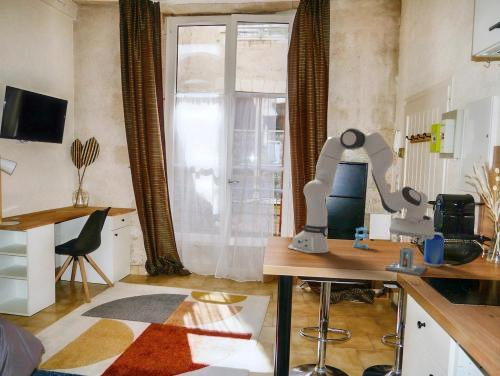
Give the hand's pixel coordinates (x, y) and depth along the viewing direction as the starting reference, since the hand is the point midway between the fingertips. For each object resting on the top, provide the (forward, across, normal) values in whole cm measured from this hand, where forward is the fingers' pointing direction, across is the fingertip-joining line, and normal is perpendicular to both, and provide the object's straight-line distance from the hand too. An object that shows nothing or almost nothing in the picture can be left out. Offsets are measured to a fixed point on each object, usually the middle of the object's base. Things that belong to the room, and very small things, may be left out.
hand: (408, 242), depth 185 cm
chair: (-12, -32, +30) cm, 46 cm away
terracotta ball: (+9, 0, +4) cm, 10 cm away
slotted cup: (+10, 0, +6) cm, 11 cm away
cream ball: (+6, +1, +3) cm, 7 cm away
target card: (+11, 0, +7) cm, 13 cm away
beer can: (-2, +9, +20) cm, 22 cm away
